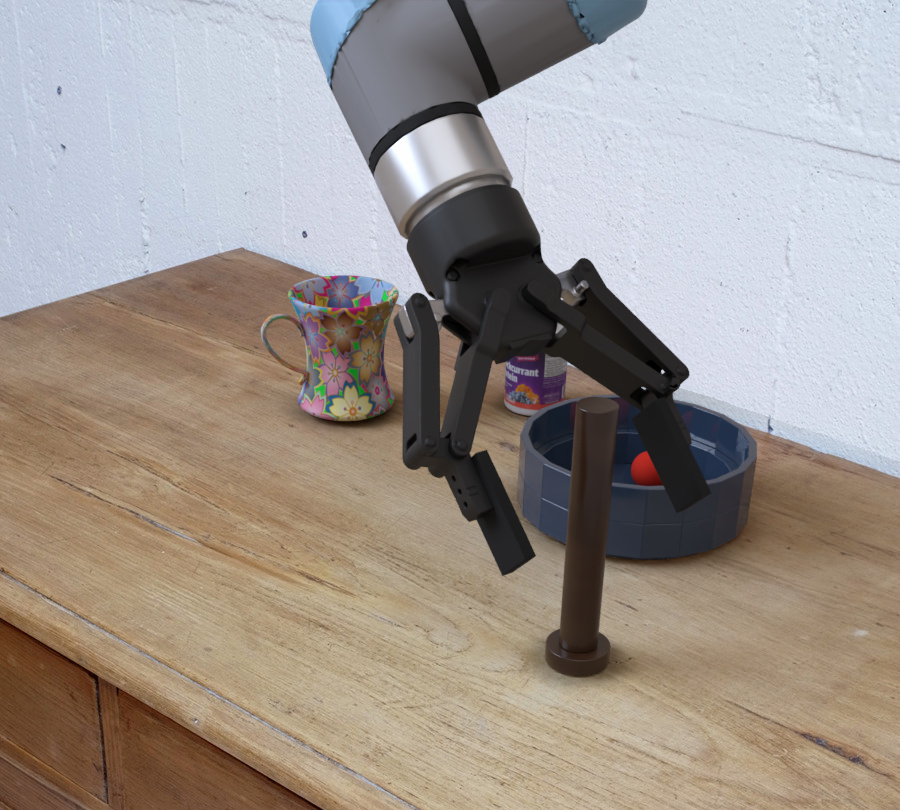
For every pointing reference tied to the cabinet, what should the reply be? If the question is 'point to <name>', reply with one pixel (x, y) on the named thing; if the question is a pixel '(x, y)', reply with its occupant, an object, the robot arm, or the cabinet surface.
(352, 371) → the mug
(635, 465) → the red ball
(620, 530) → the bowl
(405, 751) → the cabinet surface
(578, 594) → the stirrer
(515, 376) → the pill bottle
